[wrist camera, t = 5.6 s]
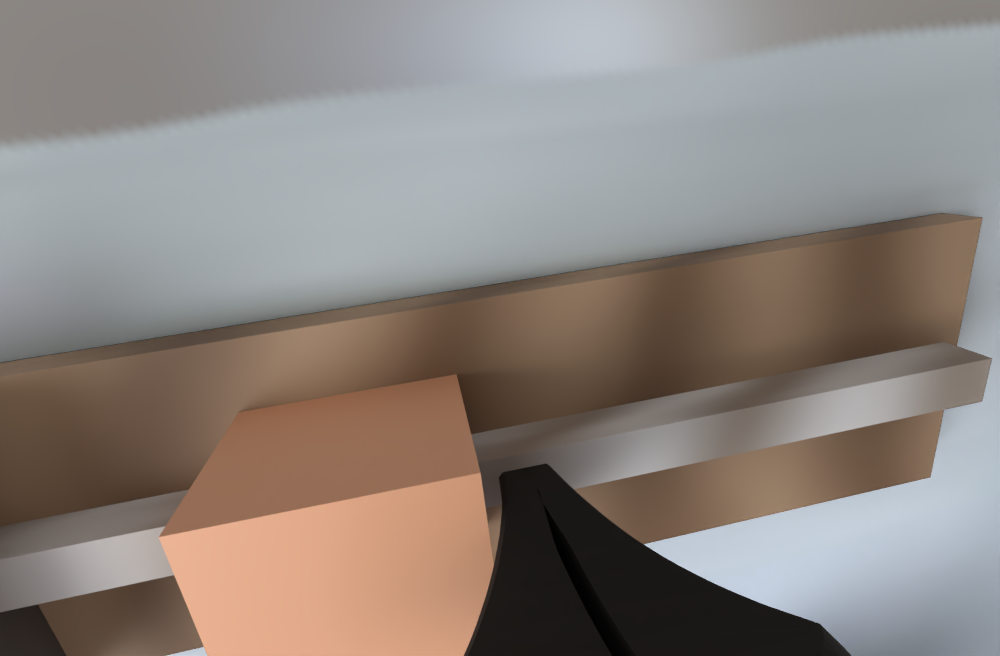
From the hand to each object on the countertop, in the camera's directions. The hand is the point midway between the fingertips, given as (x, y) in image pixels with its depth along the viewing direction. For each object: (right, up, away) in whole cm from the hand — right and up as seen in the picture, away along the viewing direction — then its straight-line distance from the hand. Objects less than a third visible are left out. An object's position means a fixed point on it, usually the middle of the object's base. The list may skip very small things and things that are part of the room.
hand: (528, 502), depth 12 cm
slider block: (-4, 0, +2) cm, 5 cm away
